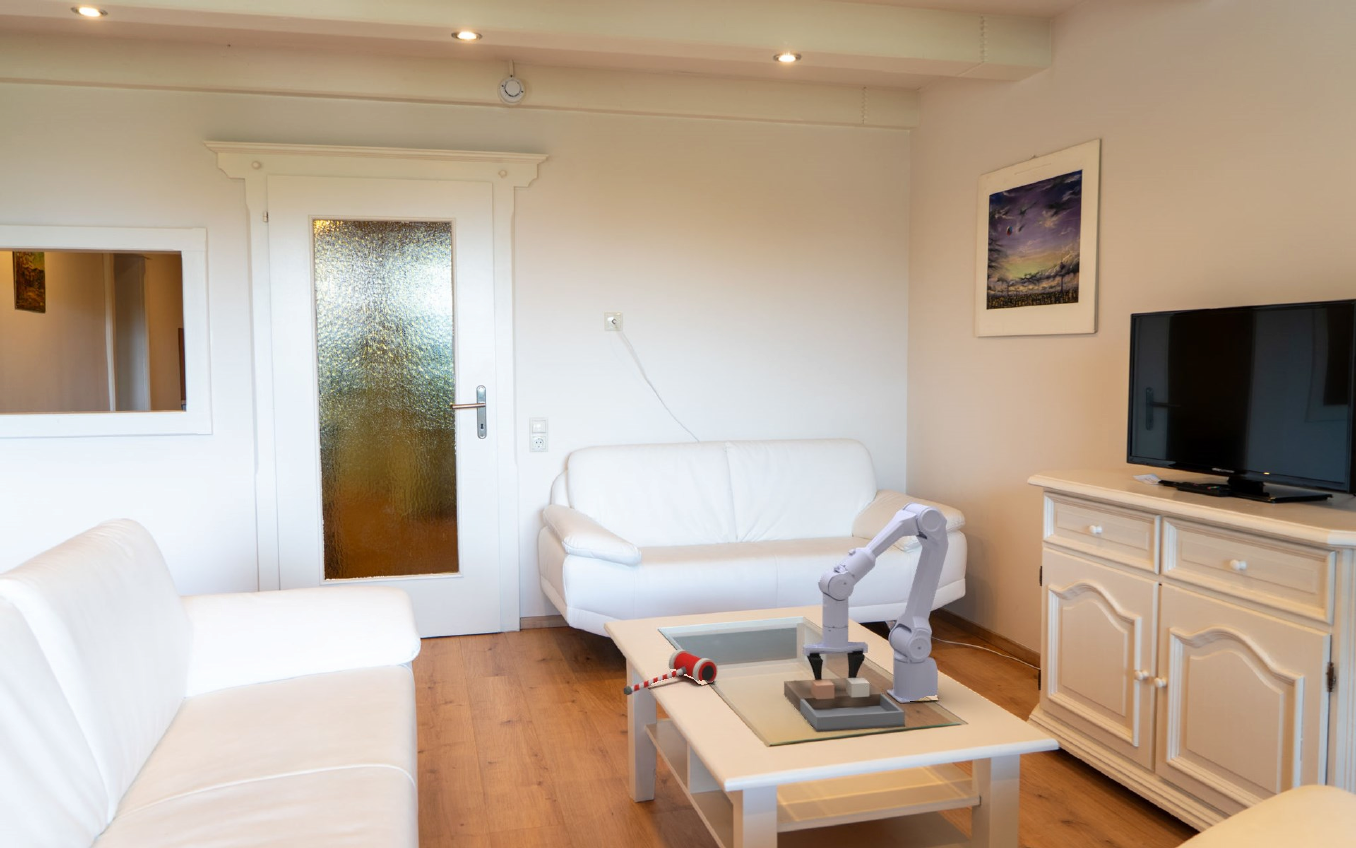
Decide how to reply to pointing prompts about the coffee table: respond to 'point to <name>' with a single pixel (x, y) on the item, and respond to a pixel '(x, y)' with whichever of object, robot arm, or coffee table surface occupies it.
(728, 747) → the coffee table surface
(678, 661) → the toy hammer
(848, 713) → the box
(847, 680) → the tile cream
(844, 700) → the dark wooden platform
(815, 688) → the terracotta pink block
